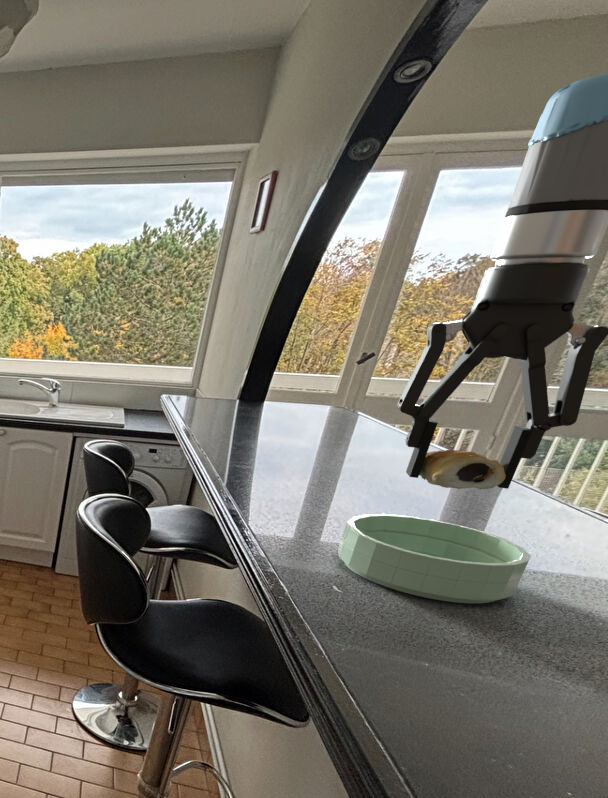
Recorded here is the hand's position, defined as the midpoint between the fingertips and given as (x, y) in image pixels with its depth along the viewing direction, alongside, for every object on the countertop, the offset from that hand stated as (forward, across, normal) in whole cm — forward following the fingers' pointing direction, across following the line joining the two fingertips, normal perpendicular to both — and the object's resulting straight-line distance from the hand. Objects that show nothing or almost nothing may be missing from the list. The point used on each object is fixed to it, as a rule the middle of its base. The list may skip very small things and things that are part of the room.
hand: (454, 479), depth 68 cm
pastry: (0, 0, 0) cm, 1 cm away
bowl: (+12, 0, +1) cm, 12 cm away
